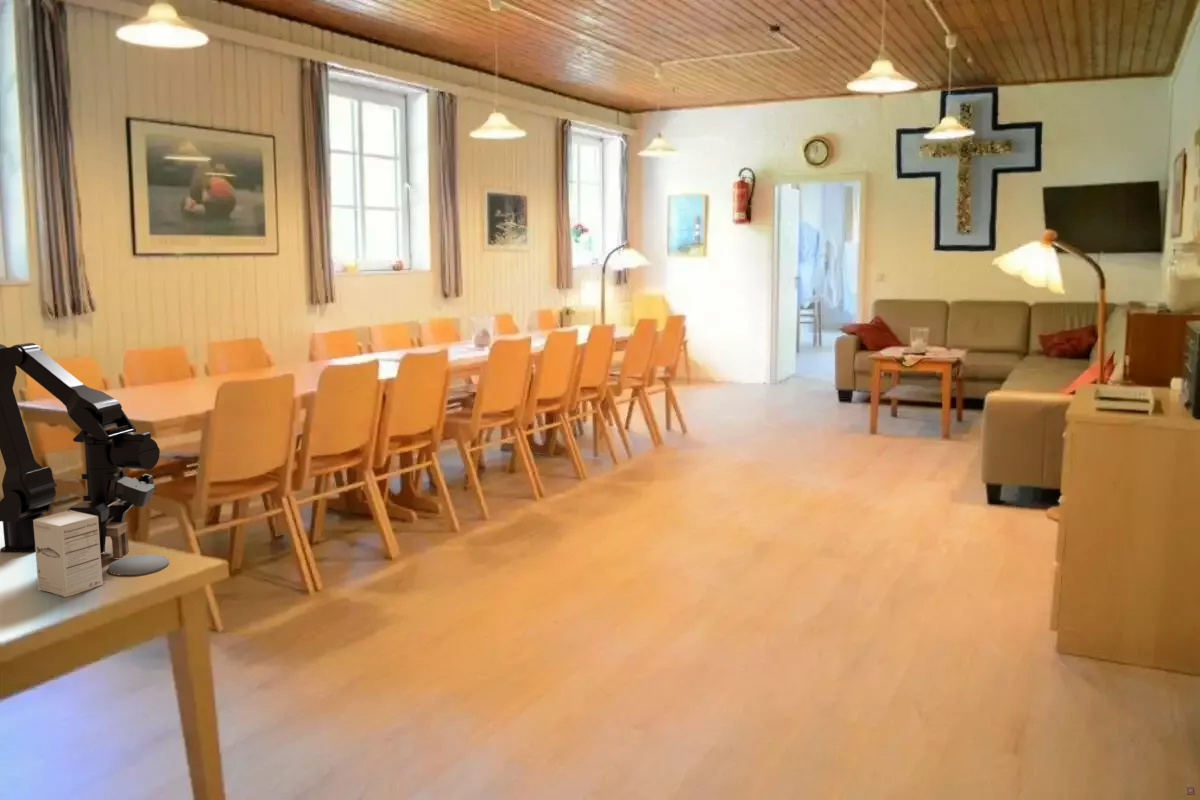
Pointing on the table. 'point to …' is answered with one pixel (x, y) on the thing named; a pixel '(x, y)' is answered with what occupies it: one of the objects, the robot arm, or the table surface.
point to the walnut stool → (118, 538)
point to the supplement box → (68, 552)
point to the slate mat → (139, 564)
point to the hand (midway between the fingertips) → (108, 546)
